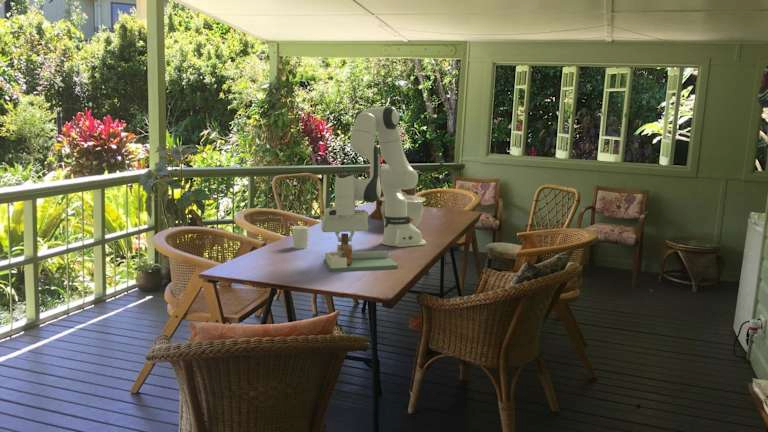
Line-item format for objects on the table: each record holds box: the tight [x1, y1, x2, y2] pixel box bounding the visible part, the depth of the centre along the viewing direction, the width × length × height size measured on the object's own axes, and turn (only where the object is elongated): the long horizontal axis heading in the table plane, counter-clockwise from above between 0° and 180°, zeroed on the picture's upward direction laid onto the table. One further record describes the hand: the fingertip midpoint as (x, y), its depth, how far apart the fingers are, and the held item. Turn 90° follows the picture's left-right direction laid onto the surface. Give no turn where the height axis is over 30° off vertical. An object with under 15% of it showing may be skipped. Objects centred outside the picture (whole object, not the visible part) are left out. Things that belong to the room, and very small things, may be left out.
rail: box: [324, 250, 389, 261], centre depth 276 cm, size 28×2×3 cm, turn 105°
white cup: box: [291, 225, 310, 250], centre depth 305 cm, size 8×8×10 cm
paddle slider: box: [336, 232, 353, 264], centre depth 270 cm, size 6×13×11 cm, turn 15°
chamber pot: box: [379, 192, 427, 228], centre depth 362 cm, size 28×28×21 cm
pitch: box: [323, 251, 399, 273], centre depth 270 cm, size 29×17×6 cm, turn 105°
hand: (344, 241), depth 274 cm, fingers closed on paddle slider, 3 cm apart
